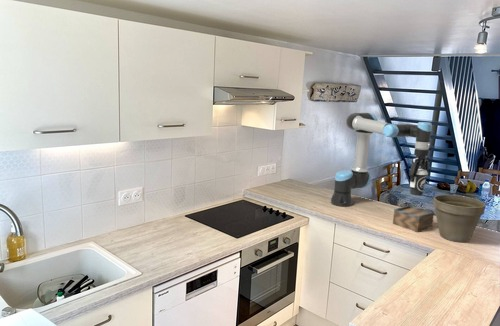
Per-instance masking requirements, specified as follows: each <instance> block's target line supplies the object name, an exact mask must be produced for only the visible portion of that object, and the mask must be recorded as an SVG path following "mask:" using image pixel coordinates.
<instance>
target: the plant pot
mask: <svg viewBox="0 0 500 326" xmlns="http://www.w3.org/2000/svg"><path fill="white" fill-rule="evenodd" d="M432 198H433V201H432V202H433V203H432V204H433V208H434V210H435V215H436V222H437V227H438V233H439V236H440V237H442V239H445V240H448V241H449V242H450V241H451V242H456V243H468V242H469V241H470V239H471V237H472V236H473V234H474V231H475V230H476V228H477V226H478V223H479V221H480V219H481V217H482V216H483V215H484V214H485V211H486V206H487V205H486V203H485V202H484V201H483V200H479V199H476V198H473V197H469V196H462V195H457V194H456V195H455V194H437V195H435V196H433V197H432Z"/></svg>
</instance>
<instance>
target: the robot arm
mask: <svg viewBox="0 0 500 326" xmlns="http://www.w3.org/2000/svg"><path fill="white" fill-rule="evenodd" d="M345 122H346V126H347V128H348V129H350V130H352V131H353V130H354V131H355V133H356V134H357V135H356V136H357V137H356V146H355V155H354V163H353V167H352V168H351V170H347V169H346V170H344V169H343V170H339V171H337V172H336V173H335V177H334V189H333V193H332V196H331V199H330V203H331V205H334V206H336V207H337V206H339V207H344V208H345V207H352V206H353V198H352V190H353V189H363V188H367V187H368V186H369V185H370V183H371V181H372V179H371V178H372V176H371V174H370V173H369V170H368V168H367V163H368V157H369V149H370V148H369V147H370V139H371V135H373V133H375V134H378V135H383V136H385V137H387V138H408V137H409V138H415V144H414V152H413V154H414V155H415V158H412V159H411V165H410V169H409V172H408V176H410V184H409V187H410V188H411V187H413V188H415V183H416V177H415V176H416V173H417V171H418V169H425V170H427V173H428V174H429V159H430V158H429V157H428V156H429V153H430V152H429V151H430V150H429V149H430V146H431V144H430V143H431V136H432V131H433V130H432V129H433V124H432V122H430V121H429V122H426V121H419V122H417V124H412V123H402V124H401V123H400V124H399V123H398V124H397V123H395V124H394V123H389V122H384V121H381V120H380V121H379V120H378V118H377V116H376V115H375V114H374V113H371V112H353V113H350V114H349V115H348V116H347V118H346V121H345Z"/></svg>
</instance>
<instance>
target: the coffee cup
mask: <svg viewBox="0 0 500 326" xmlns="http://www.w3.org/2000/svg"><path fill="white" fill-rule="evenodd" d="M428 175H429V172H428V173H427V170H425V169H421V168H419V169H418V171H417V173H416V176H415V177H416V183H415V188H413V187H410V189H409V190H410V192H409V194H410V195H412V196H416V197H417V196H419V197H420V196H423V192H424V189H425V185H426V181H427V176H428Z"/></svg>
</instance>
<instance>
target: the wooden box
mask: <svg viewBox="0 0 500 326" xmlns="http://www.w3.org/2000/svg"><path fill="white" fill-rule="evenodd" d="M434 216H435V212H434V211H430V210H426V209H424V208H419V207H416V206H412V205H405V206H401V207H398V208H394V211H393V218H392V219H393V220H392V224H393V225H395V226H398V227H402V228H405V229H407V230H411V231H413V232H415V233H419V232H422V231H425V230H427V229H430V228H433V224H434Z"/></svg>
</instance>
